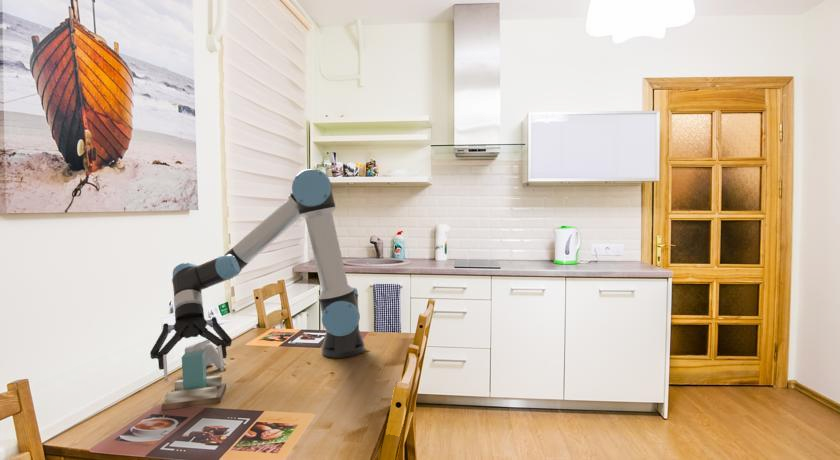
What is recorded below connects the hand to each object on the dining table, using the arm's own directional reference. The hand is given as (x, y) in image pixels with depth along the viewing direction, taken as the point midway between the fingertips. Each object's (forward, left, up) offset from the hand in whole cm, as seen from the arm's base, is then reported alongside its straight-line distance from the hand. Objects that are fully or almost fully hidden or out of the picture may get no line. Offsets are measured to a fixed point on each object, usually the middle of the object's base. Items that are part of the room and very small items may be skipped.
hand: (195, 373), depth 119 cm
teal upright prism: (+1, -2, -6) cm, 7 cm away
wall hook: (+2, -27, -8) cm, 28 cm away
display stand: (+1, -2, -8) cm, 8 cm away
